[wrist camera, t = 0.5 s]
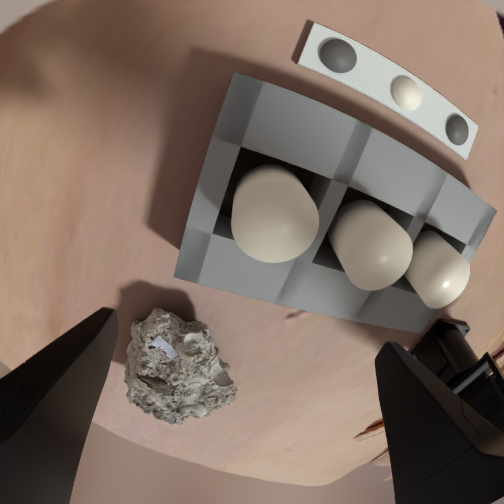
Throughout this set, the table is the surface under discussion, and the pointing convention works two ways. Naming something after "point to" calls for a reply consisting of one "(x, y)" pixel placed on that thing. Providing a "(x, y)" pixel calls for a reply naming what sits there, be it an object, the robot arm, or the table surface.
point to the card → (387, 86)
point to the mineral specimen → (175, 369)
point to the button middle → (369, 245)
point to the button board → (322, 206)
